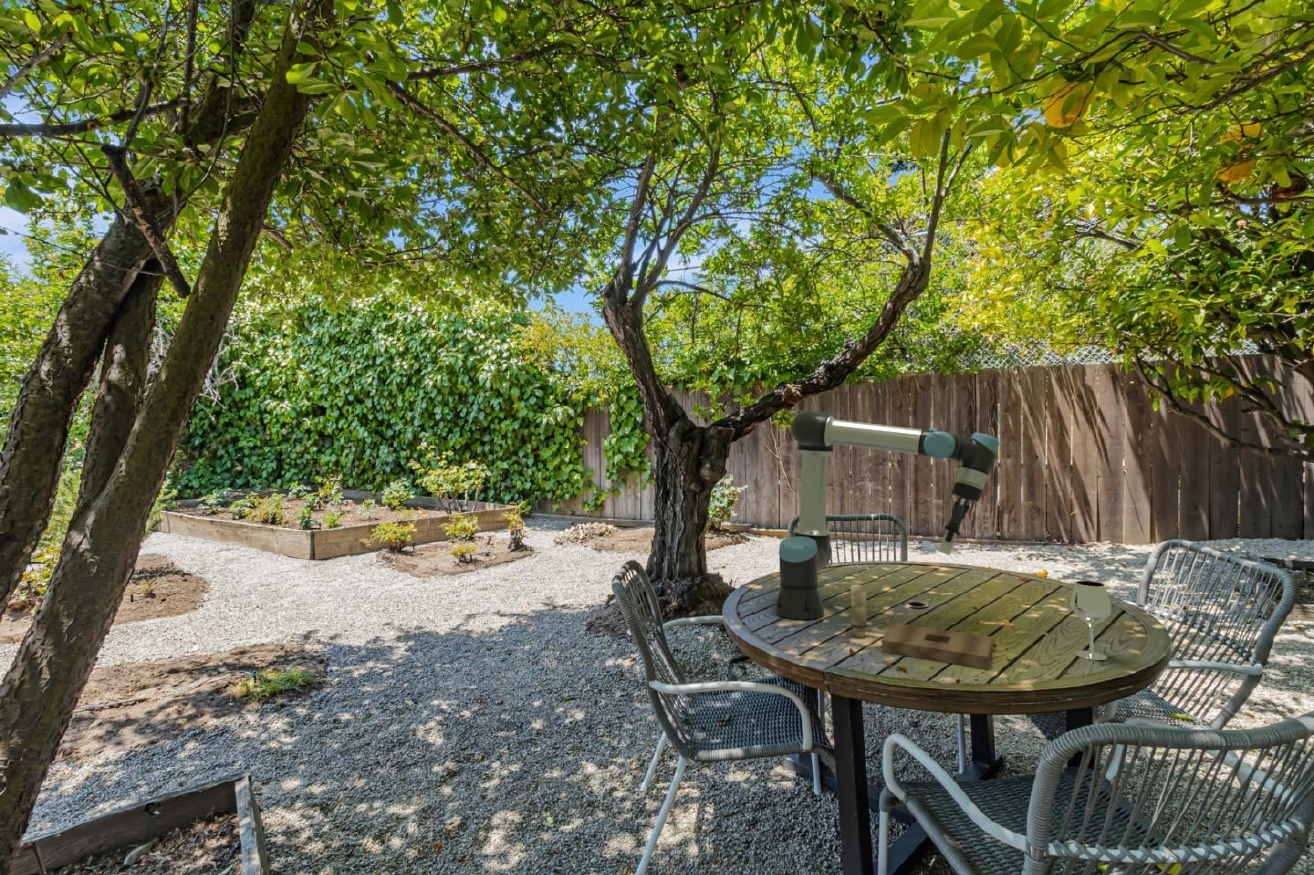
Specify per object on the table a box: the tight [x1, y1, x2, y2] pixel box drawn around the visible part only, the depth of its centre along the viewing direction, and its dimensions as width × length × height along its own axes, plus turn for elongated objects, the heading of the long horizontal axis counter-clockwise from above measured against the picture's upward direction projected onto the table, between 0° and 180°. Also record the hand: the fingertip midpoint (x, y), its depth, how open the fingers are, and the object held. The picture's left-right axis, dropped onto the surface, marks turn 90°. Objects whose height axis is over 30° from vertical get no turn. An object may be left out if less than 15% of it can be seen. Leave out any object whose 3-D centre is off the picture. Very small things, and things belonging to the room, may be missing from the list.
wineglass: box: [1070, 580, 1112, 661], centre depth 146 cm, size 8×8×18 cm
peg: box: [850, 583, 868, 639], centre depth 165 cm, size 4×4×14 cm
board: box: [881, 622, 994, 670], centre depth 153 cm, size 24×16×3 cm, turn 57°
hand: (944, 553), depth 173 cm, fingers open, 13 cm apart
